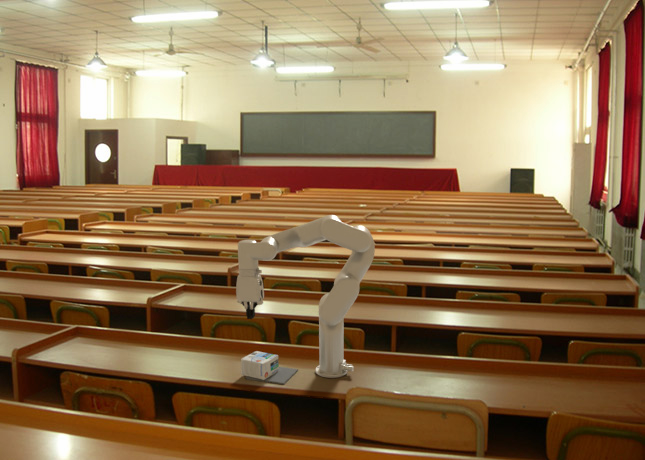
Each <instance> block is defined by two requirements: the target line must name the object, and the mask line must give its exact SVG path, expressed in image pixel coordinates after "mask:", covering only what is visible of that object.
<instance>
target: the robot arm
mask: <svg viewBox="0 0 645 460" xmlns="http://www.w3.org/2000/svg"><path fill="white" fill-rule="evenodd" d="M323 241H324V242H325V241H328V242H331V244H332V243H333V245H334V244H335V245H337V246H339V247H342V248H344V249H346V250H350V251H351V253H350V255H349V257H348V258H347V260H346V263H345V264H344V266H343V267H342V268H341V270H340V272H339V273H338V274H337V276H336V277H335V279H334V280H333V282H334V283H333V286H332V288H331V290H330V291H329V292H327V293H325V294H324V295H322V296H321V298H320V300H319V303H318V311H317V313H318V323H319V324H318V327H319V328H318V332H319V333H318V339H319V341H318V343H319V346H318V348H319V349H318V350H319V352H318V353H319V357H318V358H319V362H318V363H319V365H317V366H316V367H315V373H316V374H317V376H319V377H323V378H328V379H329V378H330V379H335V378H336V379H337V378H342V377H344V376H345V375H347V373H348V372H354V369H355V367H354V366H353V364H351V363H350V364H349V363H347V362H346V361H347V360H346V359H344V358H345V357H344V354H345V353H344V350H345V349H344V348H345V347H344V334H345V333H344V331H345V330H344V326H345V324H344V318H345V316H346V315H347V313H348V311H349V310H350V309H351V307H352V306H353V305H354V303H355V301H356V300H357V298H358V295H359V293H360V284H361V282H362V281H363V278H364V277H365V275H366V274H367V272H368V270H369V269H370V267H371V265H372V263H373V260H374V258H375V251H376V248H375V247H376V246H375V240H374V237H373V235H372V233H371V231H370V230H369V229H368V228H367V227H366V226H364V225H361V224H360V225H359V224H358V225H355V226H352V225H350V224H347V223H346V222H342V220H341V218H340V217H339V216H338V215H335V214H328V215H325V216H323V217H320V218H317V219H314V220H311V221H309V222H306V223H304V224H300V225H298V226H295V227H294V226H293V227H292V228H288V229H285V230H281V231H279V232H276V233H273V234H271V235H267V236H266V237H263V239H262V240H261V241H256V240H255V239H244V240H243V239H242V240H239V241H238V242H237V243H238V244H237V257H238V259H237V260H238V261H237V262H238V275H237V278H236V287H235V289H236V290H235V294H236V302H237V303H238V304H240V305H242V306H243V307H244V309H245V315H246V318H247V320H253V319H254V318H255V316H256V308H257V307H258V306H260V305H263V304H264V300H263V299H265V290H264V283H263V282H264V281H263V279H262V275H261V274H262V269H260V267H259V261H264V262H265V261H267V262H268V261H271V260H273V259H275V257H276V256H277V254H279V253H281V252H283V251H287V250H289V249H294V248H308V247H310V246H313V245H316V244H319V243H321V242H323Z"/></svg>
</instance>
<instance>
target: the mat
mask: <svg viewBox="0 0 645 460" xmlns="http://www.w3.org/2000/svg"><path fill="white" fill-rule="evenodd" d="M298 371H299V369H297V368H290V367H285V366H279V371H278V372H276V373H275V374H273V375H271V376H270V377H268V378H266V379H265V380H262V379H258V378H253V377H249V376H245V380H251V381H257V382H264V381H265V382H264V383H270V382H272V383H271V384H277V383H278V384H279V385H285V384H286V383H287V382H288V381H289V380H290V379H292V377H293V376H295V375H296V374H297V372H298Z"/></svg>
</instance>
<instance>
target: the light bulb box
mask: <svg viewBox="0 0 645 460" xmlns="http://www.w3.org/2000/svg"><path fill="white" fill-rule="evenodd" d="M279 367H280V365H279V355H278V354H273V353H268V352H262V351H258V350H256V351H253V352H252V353H249V354H248V355H245V356H243V357H242V358H241V359H240V374H241V376H244V377H247V376H249V377H253V378H258V379H262V380H265V379H266V378H268V377H270V376H271V375H273V374H275V373H276V372H278V371H279Z"/></svg>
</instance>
